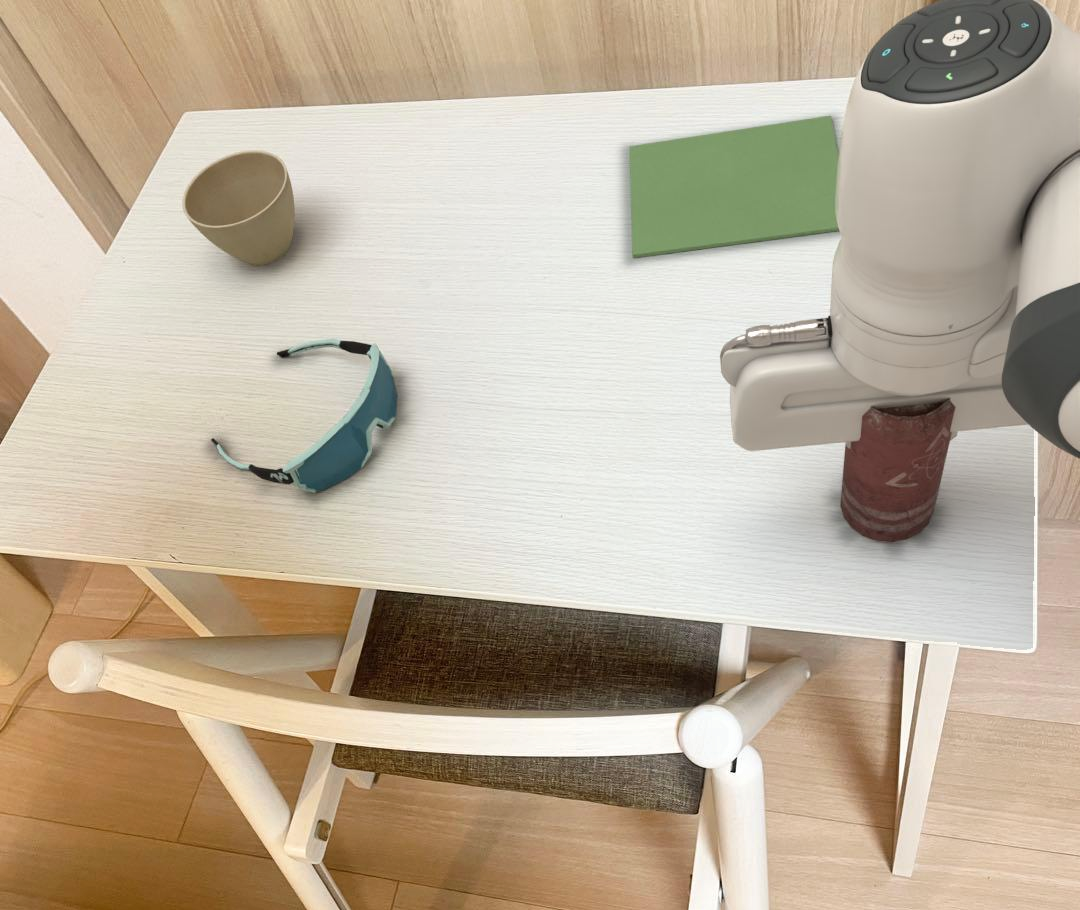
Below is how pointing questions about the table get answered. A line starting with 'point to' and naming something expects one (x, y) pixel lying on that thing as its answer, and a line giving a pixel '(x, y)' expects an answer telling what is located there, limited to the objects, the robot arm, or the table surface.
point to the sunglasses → (338, 427)
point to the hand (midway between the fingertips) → (893, 460)
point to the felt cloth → (734, 187)
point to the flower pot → (244, 206)
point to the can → (896, 470)
